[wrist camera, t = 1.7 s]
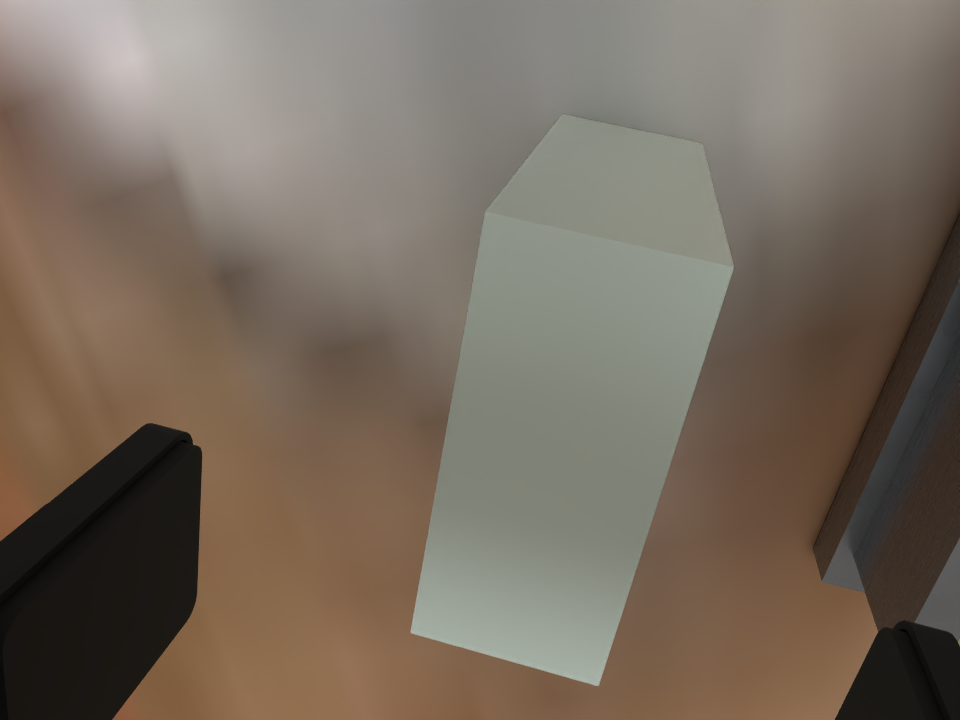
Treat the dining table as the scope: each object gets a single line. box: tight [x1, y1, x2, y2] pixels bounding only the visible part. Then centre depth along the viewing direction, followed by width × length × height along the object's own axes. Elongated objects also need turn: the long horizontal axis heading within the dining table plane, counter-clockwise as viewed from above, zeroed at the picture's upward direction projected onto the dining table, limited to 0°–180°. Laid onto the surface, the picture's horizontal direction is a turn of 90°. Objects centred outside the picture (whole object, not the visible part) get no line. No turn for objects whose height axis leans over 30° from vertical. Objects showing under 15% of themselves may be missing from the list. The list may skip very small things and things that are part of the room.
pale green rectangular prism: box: [411, 114, 734, 686], centre depth 18 cm, size 8×4×10 cm, turn 170°
